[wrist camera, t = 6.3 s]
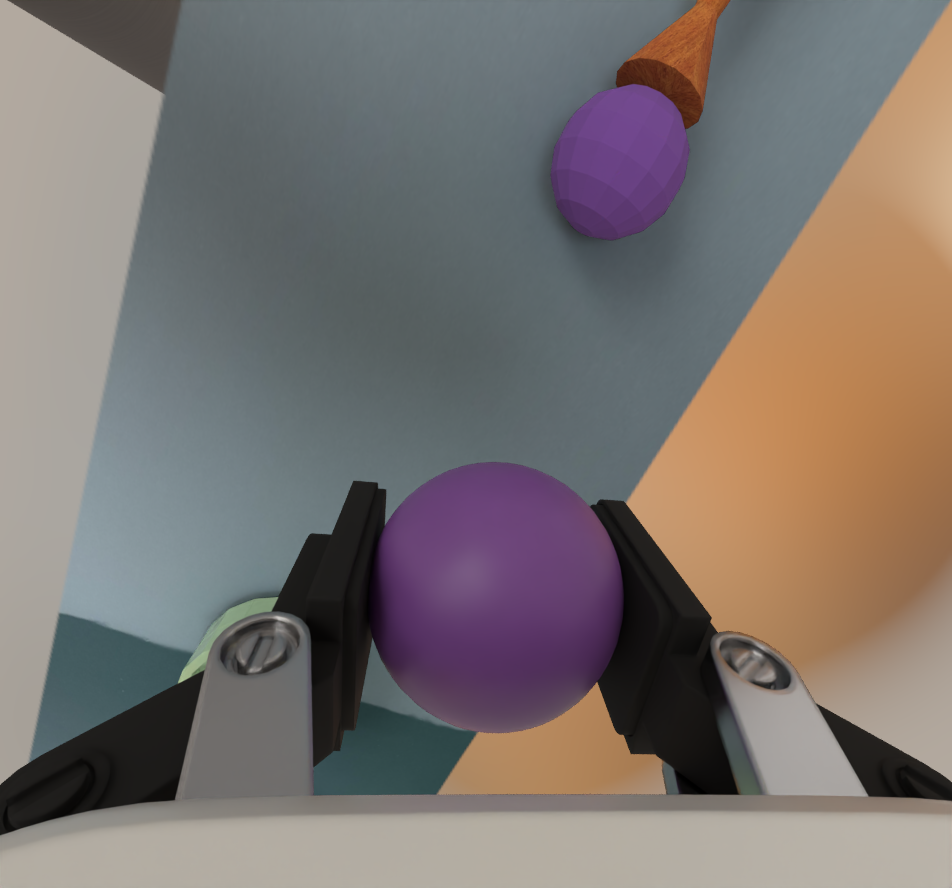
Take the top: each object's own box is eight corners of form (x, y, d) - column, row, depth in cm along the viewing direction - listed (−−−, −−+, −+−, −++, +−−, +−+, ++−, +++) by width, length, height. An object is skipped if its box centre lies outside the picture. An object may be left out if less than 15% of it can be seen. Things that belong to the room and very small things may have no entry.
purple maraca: (998, -271, 16) (662, 265, 20) (832, -141, 21) (595, 261, 25) (928, -484, 13) (562, 183, 18) (759, -275, 18) (510, 197, 23)
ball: (385, 589, 12) (332, 791, 8) (396, 415, 10) (335, 540, 6) (566, 606, 12) (623, 810, 8) (608, 439, 11) (714, 578, 6)
